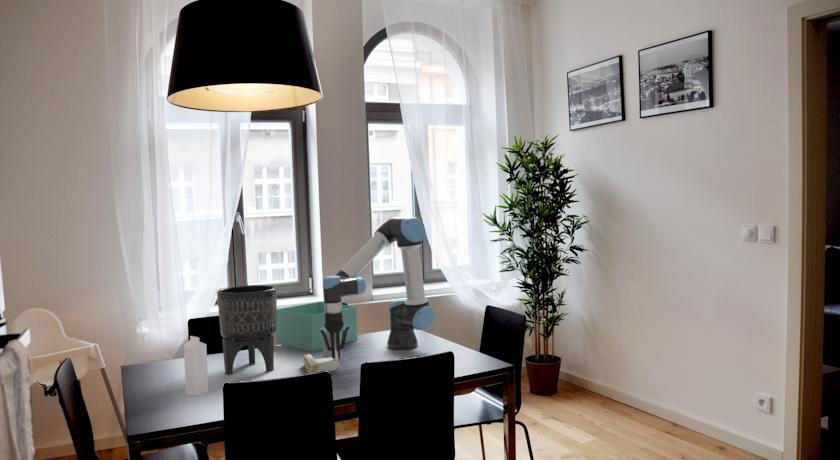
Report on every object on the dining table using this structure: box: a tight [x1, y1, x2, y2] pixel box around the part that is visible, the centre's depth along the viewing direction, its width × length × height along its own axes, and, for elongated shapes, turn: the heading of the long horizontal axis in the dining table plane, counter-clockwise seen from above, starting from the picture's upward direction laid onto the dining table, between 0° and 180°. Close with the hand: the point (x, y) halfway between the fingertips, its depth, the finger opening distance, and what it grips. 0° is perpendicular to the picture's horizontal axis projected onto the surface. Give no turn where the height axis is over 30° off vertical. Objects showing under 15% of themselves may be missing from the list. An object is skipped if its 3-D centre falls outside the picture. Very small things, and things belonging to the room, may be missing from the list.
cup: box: [322, 335, 342, 361], centre depth 284 cm, size 8×8×10 cm
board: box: [302, 353, 320, 375], centre depth 263 cm, size 3×20×5 cm, turn 20°
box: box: [275, 301, 358, 352], centre depth 320 cm, size 30×30×18 cm
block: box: [314, 357, 338, 373], centre depth 266 cm, size 9×7×4 cm
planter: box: [216, 284, 278, 376], centre depth 268 cm, size 25×25×36 cm
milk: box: [183, 335, 209, 397], centre depth 236 cm, size 6×6×22 cm
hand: (336, 365), depth 267 cm, fingers closed
